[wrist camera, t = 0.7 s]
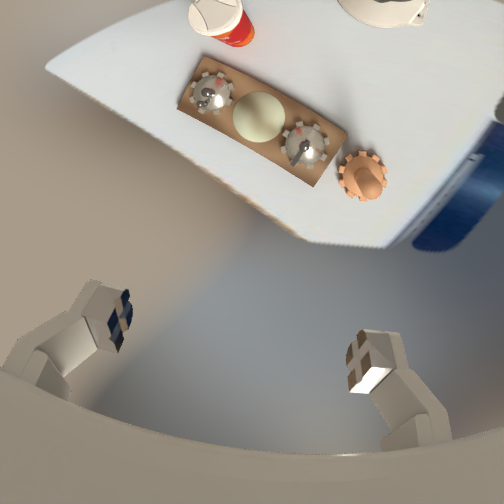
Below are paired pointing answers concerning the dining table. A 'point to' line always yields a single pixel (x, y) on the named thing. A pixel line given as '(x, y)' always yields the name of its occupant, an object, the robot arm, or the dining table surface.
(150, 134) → the dining table surface
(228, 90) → the gear
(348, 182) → the idler gear
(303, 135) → the gear
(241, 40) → the paper cup
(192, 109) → the gear board
